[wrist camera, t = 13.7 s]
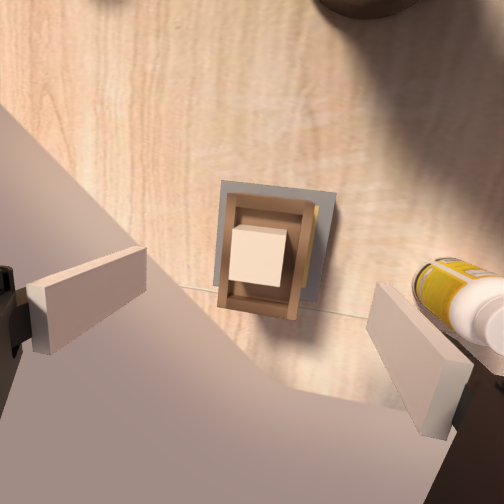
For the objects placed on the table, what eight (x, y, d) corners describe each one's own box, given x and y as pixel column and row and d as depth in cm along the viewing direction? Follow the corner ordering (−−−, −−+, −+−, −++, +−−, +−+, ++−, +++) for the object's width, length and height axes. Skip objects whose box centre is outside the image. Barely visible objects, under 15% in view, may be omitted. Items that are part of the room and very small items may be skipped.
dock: (228, 181, 31) (221, 180, 28) (332, 192, 30) (336, 192, 27) (219, 277, 34) (212, 286, 31) (314, 292, 32) (316, 302, 29)
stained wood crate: (243, 192, 28) (227, 192, 21) (309, 200, 27) (315, 203, 20) (233, 281, 30) (217, 306, 24) (295, 291, 29) (295, 320, 23)
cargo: (240, 224, 23) (232, 229, 20) (287, 229, 22) (286, 235, 19) (236, 268, 24) (228, 279, 21) (281, 275, 23) (279, 287, 20)
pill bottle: (425, 316, 31) (495, 381, 20) (400, 272, 30) (458, 316, 20) (480, 291, 30) (586, 347, 19) (454, 245, 29) (550, 276, 18)
